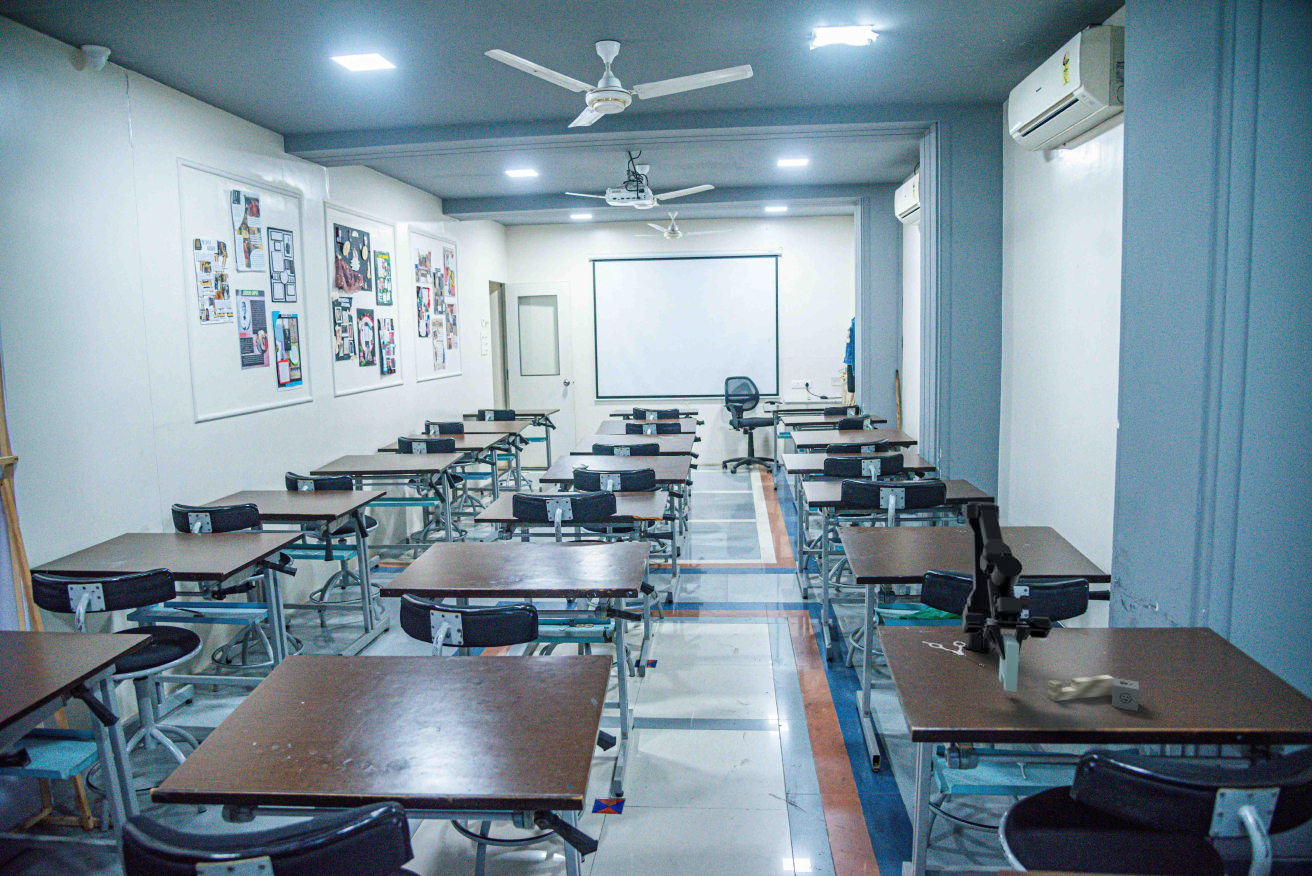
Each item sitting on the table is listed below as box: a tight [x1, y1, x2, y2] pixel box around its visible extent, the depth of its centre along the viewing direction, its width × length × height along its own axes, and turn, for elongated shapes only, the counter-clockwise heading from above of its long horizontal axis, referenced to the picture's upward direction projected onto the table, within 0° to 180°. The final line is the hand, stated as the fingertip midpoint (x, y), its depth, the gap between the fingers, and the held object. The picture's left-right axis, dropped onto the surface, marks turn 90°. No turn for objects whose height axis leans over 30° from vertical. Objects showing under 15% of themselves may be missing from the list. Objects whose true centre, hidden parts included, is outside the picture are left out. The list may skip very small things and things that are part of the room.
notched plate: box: [998, 632, 1020, 693], centre depth 197 cm, size 7×2×11 cm, turn 170°
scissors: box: [922, 641, 983, 666], centre depth 225 cm, size 11×1×20 cm
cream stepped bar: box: [1047, 674, 1115, 702], centre depth 199 cm, size 16×2×4 cm, turn 104°
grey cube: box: [1111, 677, 1140, 712], centre depth 194 cm, size 5×5×5 cm
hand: (1010, 659), depth 195 cm, fingers closed on notched plate, 2 cm apart
